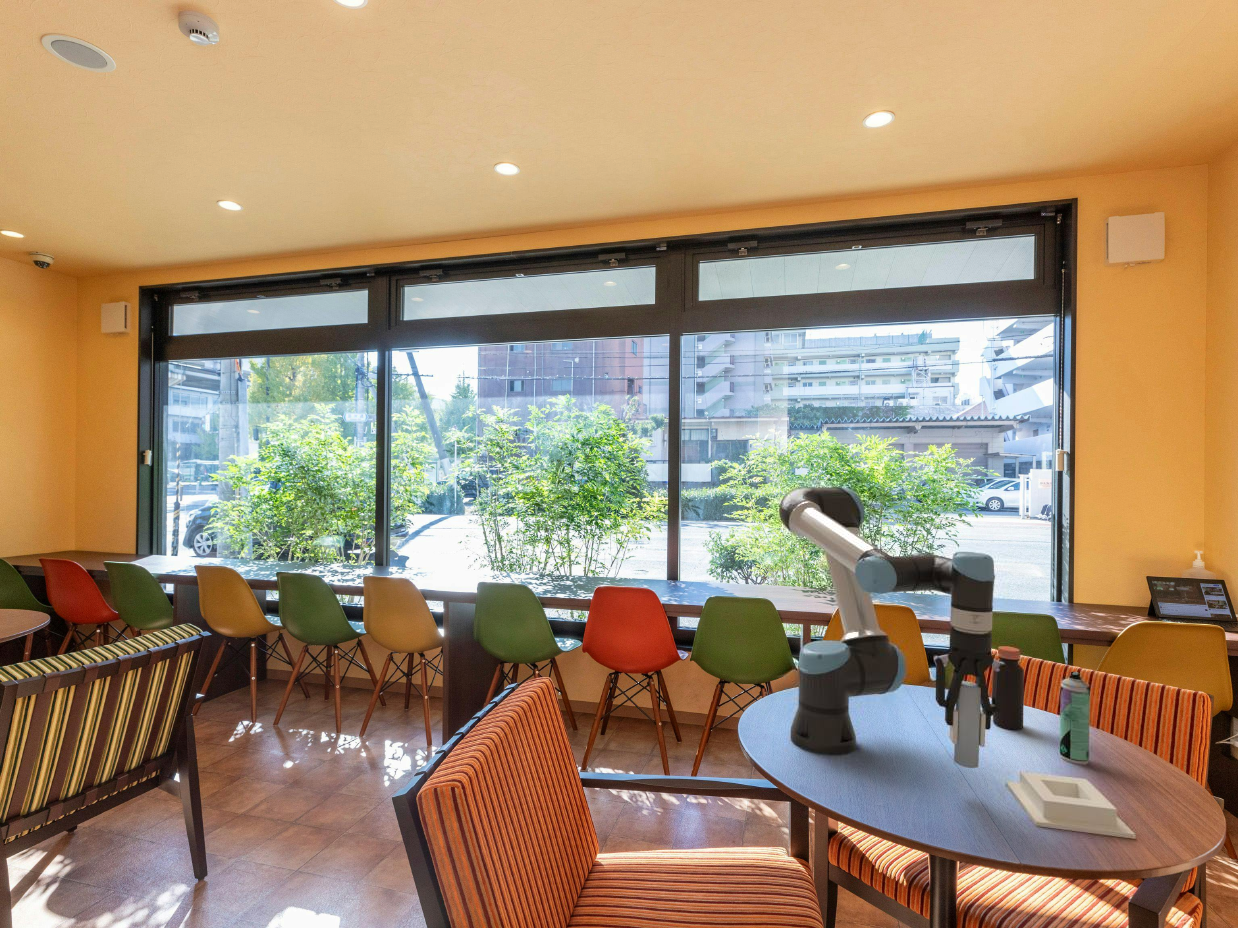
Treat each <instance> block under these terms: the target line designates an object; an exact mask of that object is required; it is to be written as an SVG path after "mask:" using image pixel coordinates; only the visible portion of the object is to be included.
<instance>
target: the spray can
mask: <svg viewBox="0 0 1238 928" xmlns="http://www.w3.org/2000/svg"><path fill="white" fill-rule="evenodd" d="M1080 675H1081V673H1080V672H1078V671H1070V675H1069V676H1067V678H1063V679H1062V680H1061V683H1060V715H1059V716H1060V718H1059V719H1060V720H1059V721H1060V722H1059V723H1060V725H1059V726H1060V727H1059V730H1060V731H1059V757H1060V759H1062V760H1064V761H1065V762H1068V763H1071V764H1075V765H1080V766H1081V765H1085V766H1086V765H1088V764H1090V710H1091V709H1090V707H1091V705H1090V704H1091V703H1090V702H1091V701H1090V700H1091V699H1090V697H1091V692H1090V690H1091V688H1090V684H1089V683H1087V682H1085V681H1084V679H1083V678H1082V677H1081V676H1080Z"/></svg>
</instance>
